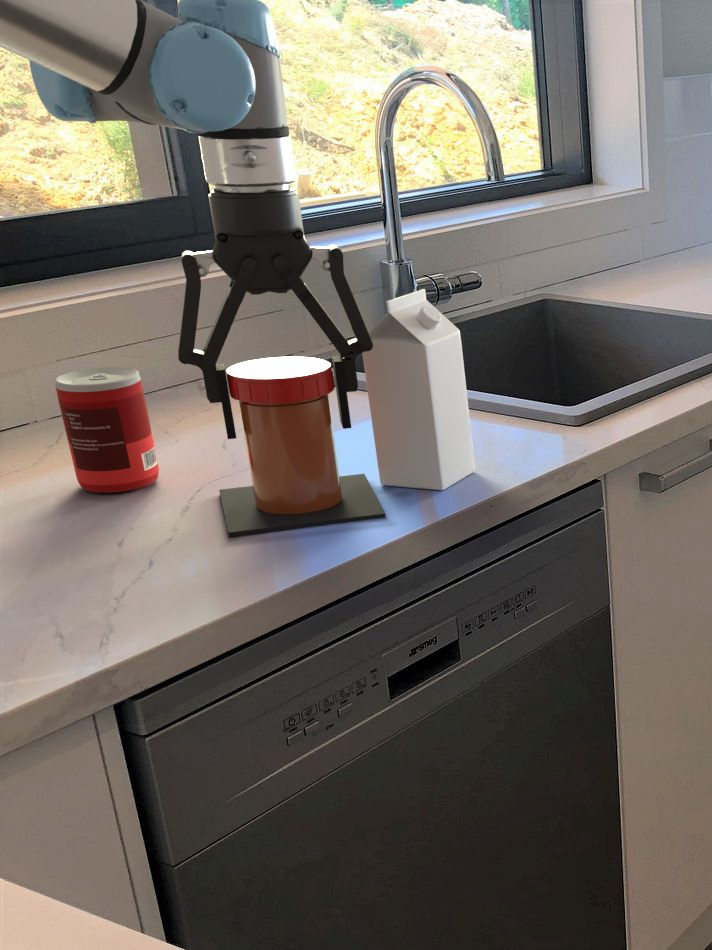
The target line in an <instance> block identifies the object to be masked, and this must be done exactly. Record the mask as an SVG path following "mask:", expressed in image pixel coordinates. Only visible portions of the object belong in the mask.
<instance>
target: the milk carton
mask: <svg viewBox="0 0 712 950" xmlns="http://www.w3.org/2000/svg"><path fill="white" fill-rule="evenodd" d="M426 293H427V292H426V288H423V289H419V290H417V291H413V292H411V293H407V294H404V295H401V296H398V297H395V298H392V299H389V300H386V301H385V302H386V303H385V304H386V313H385V314H384V315H383V317H382V318H381V319H380V320H379V321H378V322H377V323H376V324H375V325H374V326H373V327H372V328H371V329H370V330H369V331H368V333H369V336H370V338H371V340H372V343H373V348H372V349H371V350H370V351H367V352H366V351H365V352H363V353H361V354H362V362H363V367H364V368H363V369H364V375H365V376H364V377H365V383H366V391H367V397H368V403H369V411H370V419H371V425H372V432H373V440H374V447H375V454H376V455H375V456H376V461H377V463H376V464H377V470H378V477H379V483H380V486H389V487H398V488H410V489H411V488H412V489H423V490H433V491H434V490H435V491H444V490H446V489H448V488H449V487H451V486H453V485H454V484H456V483H457V482H459V481H461V480H463V479H465V478H466V477H467V476H469V475H471V474H473V473H474V472H476V463H475V455H474V445H473V437H472V429H471V427H472V426H471V418H470V410H469V408H470V407H469V399H468V391H467V382H466V381H467V380H466V373H465V364H464V363H465V362H464V354H463V344H462V337H461V331H460V329H459V328H458V327H457V326H456V325H455V324H454V323H452V322H451V320H450V319H448V318H447V317H446V316H445V314H443V313H442V312H440V311H439V310H438V309H437V308H436V307H435V306H434V305H433V304H432V303H431V302H430V301H429V300H428V299H427V294H426Z"/></svg>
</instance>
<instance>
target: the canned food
mask: <svg viewBox="0 0 712 950" xmlns="http://www.w3.org/2000/svg"><path fill="white" fill-rule="evenodd" d="M54 385H55V390H56V391H55V392H56V395H57V400H58V404H59V409H60V413H61V418H62V421H63V426H64V431H65V435H66V438H67V439H66V440H67V442H68V447H69V452H70V456H71V460H72V464H73V468H74V469H73V470H74V472H75V477H76V481H77V482H78V484H79V486H80V487H81V489H83V490H85V491H87V492H91V493H98V494H99V493H100V494H102V493H103V494H110V493H111V494H113V493H123V492H128V491H134V490H138V489H142V488H146V487H148V486H151V485H152V484H154V483H155V482H156V481H157V480H158V478H159V473H160V466H159V462H158V461H159V460H158V457H157V451H156V446H155V441H154V436H153V432H152V427H151V421H150V417H149V412H148V406H147V401H146V396H145V390H144V387H143V382H142V378H141V376H140V372H139V370H136V369H134V368H128V367H120V366H119V367H118V366H117V367H116V366H115V367H114V366H113V367H112V366H108V367H107V366H105V367H93V368H86V369H79V370H74V371H70V372H68V373H63V374H62V375H59V376H58V377H56V378H55V379H54Z"/></svg>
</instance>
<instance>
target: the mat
mask: <svg viewBox="0 0 712 950" xmlns="http://www.w3.org/2000/svg"><path fill="white" fill-rule="evenodd" d="M340 483H341V490H342V497H343V498H342V500H341V501H340V502H339V503H338V504H336V505H334V506H332V507H330V508H327V509H323V510H320V511H315V512H309V513H301V514H273V513H267V512H264V511H261V510H259V509H258V508H257V507H256V504H255V498H254V492H253V486H252V485H248V486H240V487H230V488H221V489H219V490H218V491H219V496H220V502H221V506H222V510H223V516H224V521H225V525H226V526H225V527H226V530H227V537H228V538H236V537H237V538H238V537H245V536H254V535H262V534H269V533H277V532H285V531H292V530H293V531H295V530H301V529H308V528H315V527H316V528H317V527H324V526H332V525H338V524H339V525H340V524H346V523H353V522H355V523H356V522H362V521H368V520H377V519H385V518H387V516H386V512H385V510H384V508H383V506H382V505H381V503H380V501H379V499H378V496H377V495H376V493H375V491H374V489H373V487H372V486H371V484H370V482H369V480H368V478H367V476H366V474H365V473H360V474H358V473H357V474H350V475H342V476H341V475H340Z"/></svg>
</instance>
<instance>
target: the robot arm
mask: <svg viewBox="0 0 712 950" xmlns="http://www.w3.org/2000/svg"><path fill="white" fill-rule="evenodd" d="M0 48H1V49H4V50H6V51H9V52H11V53H13V54H15V55H18V56H19V57H21V58H23V59H26V60H28V61H29V69H30V74H31V78H32V81H33V83H34V88H35V90H36V92H37V95H38V97H39V99H40V101H41V103H42V105H43V106H44V108H45V109H46V110H47V112H48V113H49V114H50V115H51V116H52V117H54V118H55V119H57V120H60V121H62V122H88V123H90V124H96V123H97V122H128V123H136V124H142V125H150V126H159V127H165V128H172V129H176V130H183V131H186V132H188V133H191V134H197V135H198V142H199V147H200V153H201V160H202V164H203V171H204V177H205V181H206V183H208V184H209V185H211V186H214V187H213V189H212V190H210V193H209V194H208V202H209V208H210V213H211V220H212V226H213V232H214V233H213V234H214V238H215V239H214V244H213V246H212V249H211V250H205V251H204V250H203V251H196V252H193V251H191V250H184V251H183V252H182V253H181V256H180V257H181V259H180V260H181V265H182V269H183V273H184V276H185V286H184V293H183V294H184V295H183V305H182V313H181V323H180V330H179V340H178V349H177V358H178V361H179V362H180V363H181V364H183V365H191V366H195V367H197V368H199V369H200V370H201V372H202V376H203V382H204V389H205V393H206V399H207V400H208V402H209V404H216V403H217V404H218V403H221V408H222V413H223V420H224V424H225V431H226V438H227V440H234V439H235V440H236V439H237V433H236V427H235V421H234V415H233V410H232V403H231V396H230V392H229V387H228V381H227V373H226V367H225V364H224V363H217V362H218V360H219V358H220V355H221V353H222V350H223V347H224V345H225V343H226V340H227V338H228V335H229V333H230V331H231V329H232V325H233V324H234V321H235V319H236V317H237V313H238V311H239V309H240V306H241V305H242V303H243V301H244V298H245V296H246V293H248V294H250V295H252V296H254V295H263V294H266V293H276V294H287V293H288V292H289V291H292V292H293V293H294V295H295V296H296V298H297V299H298V300H299V301H300V302H301V304H302V305H303V306H304V308H305V309H306V310H307V312H308V313H309V314H310V316H311V317H312V319H313V320H314V321H315V323H317V325H318V326H319V328H320V329H321V331H322V332H323V333H324V334H325V336H326V337H327V338H328V340H329V341H330V343H331V344H332V345H333V347H334V348H335V350H336V351H337V352H338V355H331V364H332V369H333V370H332V371H333V377H334V385H335V391H336V392H335V393H336V399H337V406H338V414H339V421H340V424H341V427H342V429H343V430H346V429H352V421H351V414H350V407H349V406H350V405H349V399H348V393H353V392H357V391H358V388H359V381H358V375H357V374H358V373H357V367H356V359H357V357H358V356H359V355H360V354H362V353H363V352H365V351H366V352H367V351H370V350H371V349H372V348H373V343H372V340H371V338H370V336H369V330H368V328H367V326H366V324H365V321H364V319H363V317H362V314H361V312H360V309H359V307H358V304H357V302H356V299H355V297H354V294H353V292H352V290H351V287H350V285H349V283H348V279H347V278H346V275H345V267H344V266H345V265H344V252H343V251H342V250H341V248H340V246H338V245H337V244H334V243H333V244H330V245H328V246H318V245H317V246H314V245H310V243H309V242H308V241H307V239H306V236H305V231H304V224H303V216H302V211H301V210H302V209H301V203H300V202H301V201H300V196H299V192H298V191H296V189H295V188H294V187H291V184H292V183H295V181H296V180H297V174H296V167H295V166H296V165H295V160H294V159H295V158H294V153H293V147H292V141H291V140H292V139H291V135H290V127H289V121H288V120H289V119H288V112H287V105H286V97H285V91H284V90H285V89H284V82H283V75H282V66H281V64H282V63H281V61H282V54H281V52H280V48H279V44H278V38H277V33H276V27H275V25H274V20H273V15H272V13H271V10H270V9H269V7H268V6H267V5H266V4H265V3H264V2H262V1H261V0H179V1H178V3H177V17H176V16H173V15H171V14H169V13H167V12H166V11H164V10H162V9H160V8H158V7H156V6H154V5H153V4H151V3H148V2H147V1H145V0H0ZM312 260H316V261H317V262H318V264H319V266H320V268H321V269H322V270H323V271H325V272H328V275H329V278H330V281H331V282H332V285H333V287H334V290H335V292H336V294H337V296H338V299H339V302H340V304H341V307H342V309H343V311H344V314H345V316H346V318H347V321H348V323H349V326H350V328H351V330H352V333H353V335H354V338H352V339H350V340H347V339H346V337H345V336H344V334H343V333H342V331H341V330H340V329H339V328H338V326H337V325H336V324H335V321H333V319H332V318H331V316H330V315H329V314H328V312H327V311H326V309H325V308H324V307H323V306H322V304H321V303H320V302H319V300H318V299H317V298H316V296H315V295H314V293H313V292H312V291H311V290H310V288H309V286H308V285H307V284H306V282H305V281H304V280H303V278H302V276H303V274H304V273H305V270H306V269H307V267H308V266H309V264H310V262H311V261H312ZM213 264H216V266H217V267H218V268H219V269H221V270H222V271H223V273H224V274H225V275H226V276H227V277H228V278H229V279H230V282H229V285H228V287H227V288H226V292H225V296H224V298H223V300H222V303H221V305H220V307H219V310H218V312H217V315H216V317H215V319H214V323H213V324H212V328H211V330H210V332H209V334H208V336H207V339H206V342H205V344H204V347H203V349H202V350H201V349H195V343H196V334H197V325H198V318H199V311H200V310H199V309H200V300H201V294H202V293H201V291H202V278H204V277H207V276H208V275H209V272H210V266H211V265H213Z"/></svg>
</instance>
